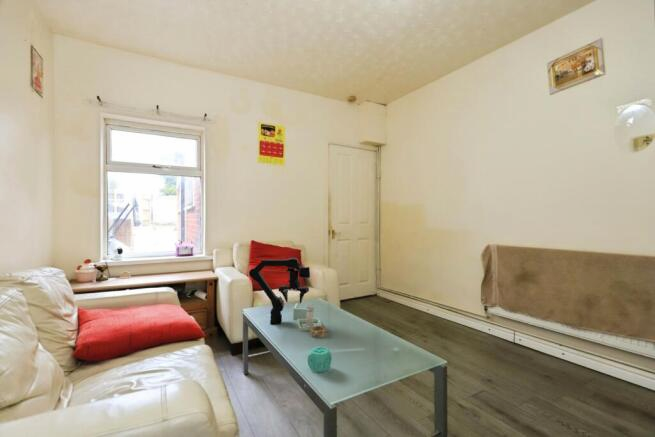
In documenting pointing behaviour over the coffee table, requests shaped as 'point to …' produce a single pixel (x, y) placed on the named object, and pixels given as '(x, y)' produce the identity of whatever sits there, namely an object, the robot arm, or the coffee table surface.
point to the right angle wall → (299, 313)
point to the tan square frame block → (318, 331)
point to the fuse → (309, 316)
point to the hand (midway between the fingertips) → (293, 302)
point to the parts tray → (307, 326)
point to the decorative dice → (319, 359)
